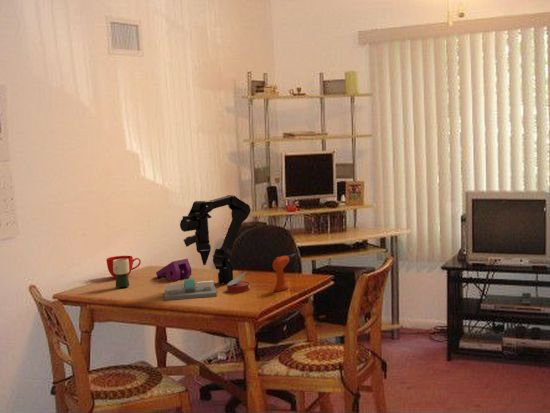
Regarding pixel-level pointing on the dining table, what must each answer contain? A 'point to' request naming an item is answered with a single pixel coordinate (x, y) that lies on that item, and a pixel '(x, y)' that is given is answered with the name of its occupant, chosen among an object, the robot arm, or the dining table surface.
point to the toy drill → (281, 271)
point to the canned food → (238, 285)
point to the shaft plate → (190, 291)
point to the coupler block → (189, 283)
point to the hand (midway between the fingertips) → (204, 263)
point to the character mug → (121, 272)
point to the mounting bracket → (176, 270)
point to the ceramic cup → (130, 258)
